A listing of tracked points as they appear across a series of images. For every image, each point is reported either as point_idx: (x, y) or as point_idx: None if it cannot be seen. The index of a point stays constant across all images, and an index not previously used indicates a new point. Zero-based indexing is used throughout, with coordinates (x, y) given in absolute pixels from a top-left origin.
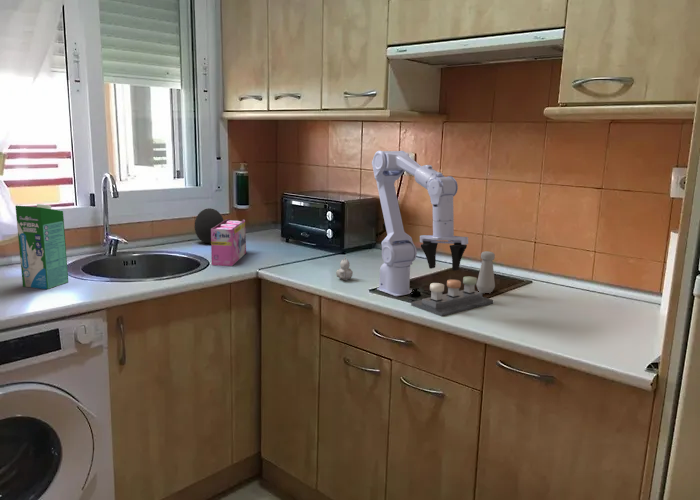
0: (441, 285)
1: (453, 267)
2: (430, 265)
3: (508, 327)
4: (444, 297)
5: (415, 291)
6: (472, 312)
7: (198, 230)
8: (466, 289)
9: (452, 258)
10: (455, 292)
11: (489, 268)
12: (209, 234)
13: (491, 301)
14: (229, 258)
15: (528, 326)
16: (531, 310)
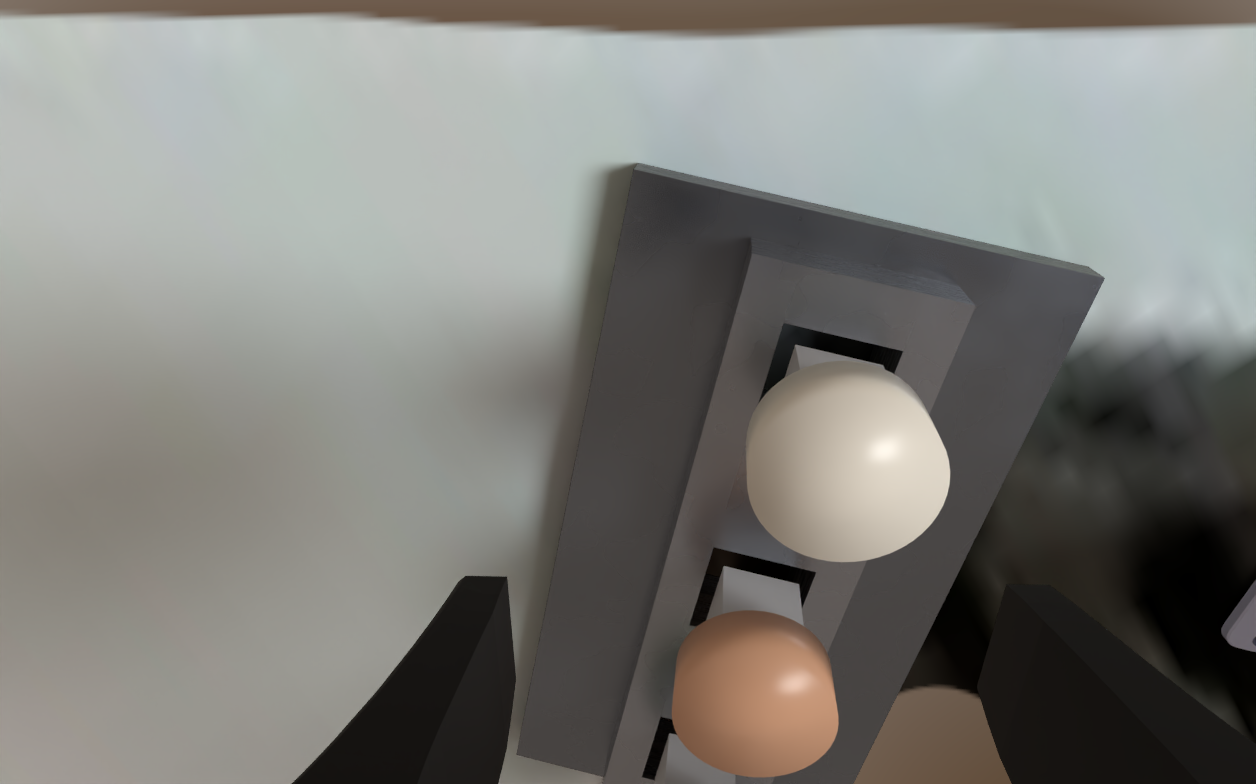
0: (781, 485)
1: (464, 604)
2: (1047, 617)
3: (87, 307)
4: None
5: (1233, 676)
6: (502, 460)
7: None
8: (705, 763)
9: (415, 757)
10: (715, 613)
11: None
12: None
13: (521, 735)
14: None
15: (34, 429)
16: (261, 735)
